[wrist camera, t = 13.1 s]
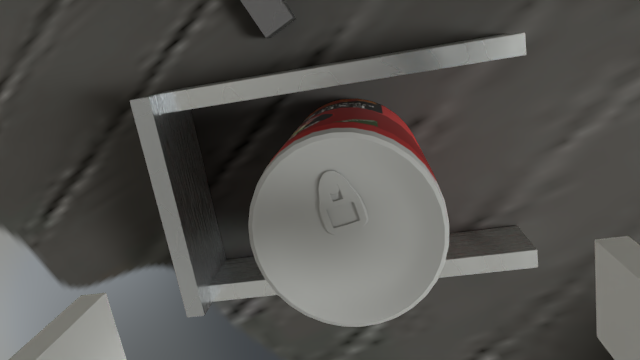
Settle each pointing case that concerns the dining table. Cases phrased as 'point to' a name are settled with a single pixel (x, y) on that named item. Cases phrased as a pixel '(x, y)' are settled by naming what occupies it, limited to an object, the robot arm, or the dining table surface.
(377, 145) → the canned food
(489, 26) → the dining table surface
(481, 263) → the channel
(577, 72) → the dining table surface
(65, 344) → the robot arm
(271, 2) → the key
